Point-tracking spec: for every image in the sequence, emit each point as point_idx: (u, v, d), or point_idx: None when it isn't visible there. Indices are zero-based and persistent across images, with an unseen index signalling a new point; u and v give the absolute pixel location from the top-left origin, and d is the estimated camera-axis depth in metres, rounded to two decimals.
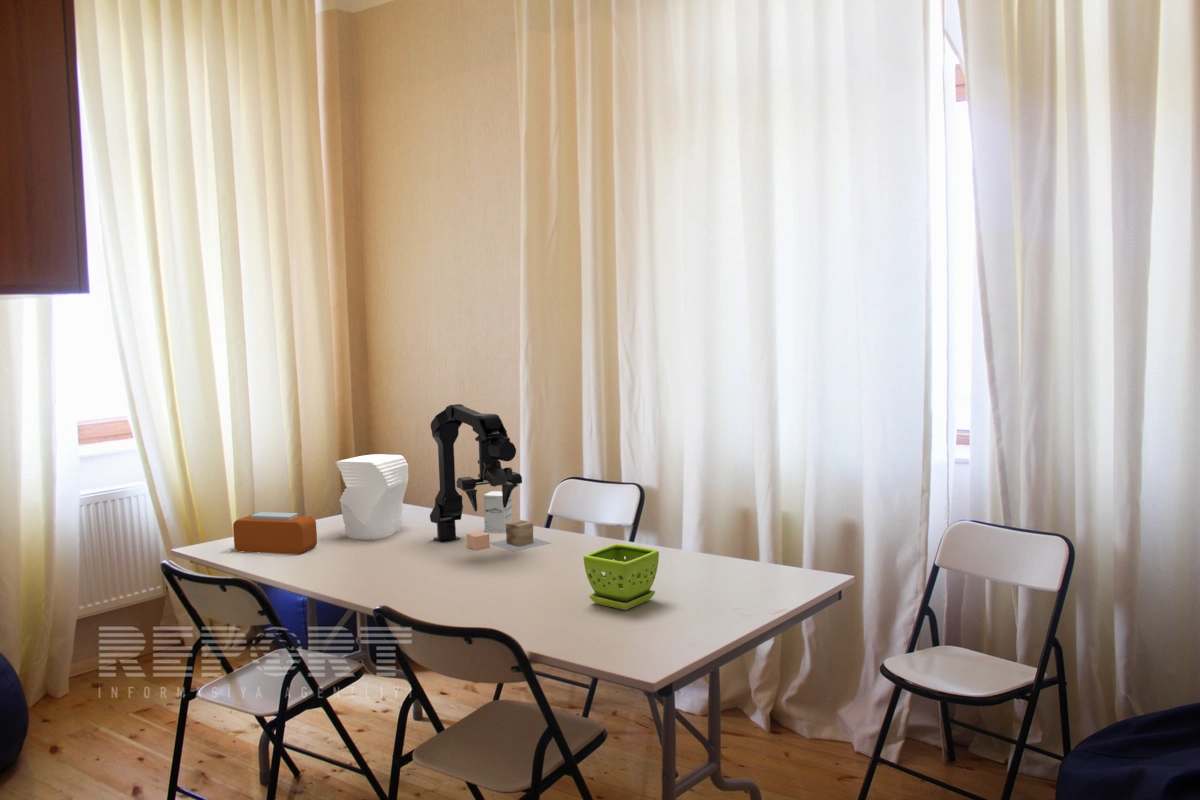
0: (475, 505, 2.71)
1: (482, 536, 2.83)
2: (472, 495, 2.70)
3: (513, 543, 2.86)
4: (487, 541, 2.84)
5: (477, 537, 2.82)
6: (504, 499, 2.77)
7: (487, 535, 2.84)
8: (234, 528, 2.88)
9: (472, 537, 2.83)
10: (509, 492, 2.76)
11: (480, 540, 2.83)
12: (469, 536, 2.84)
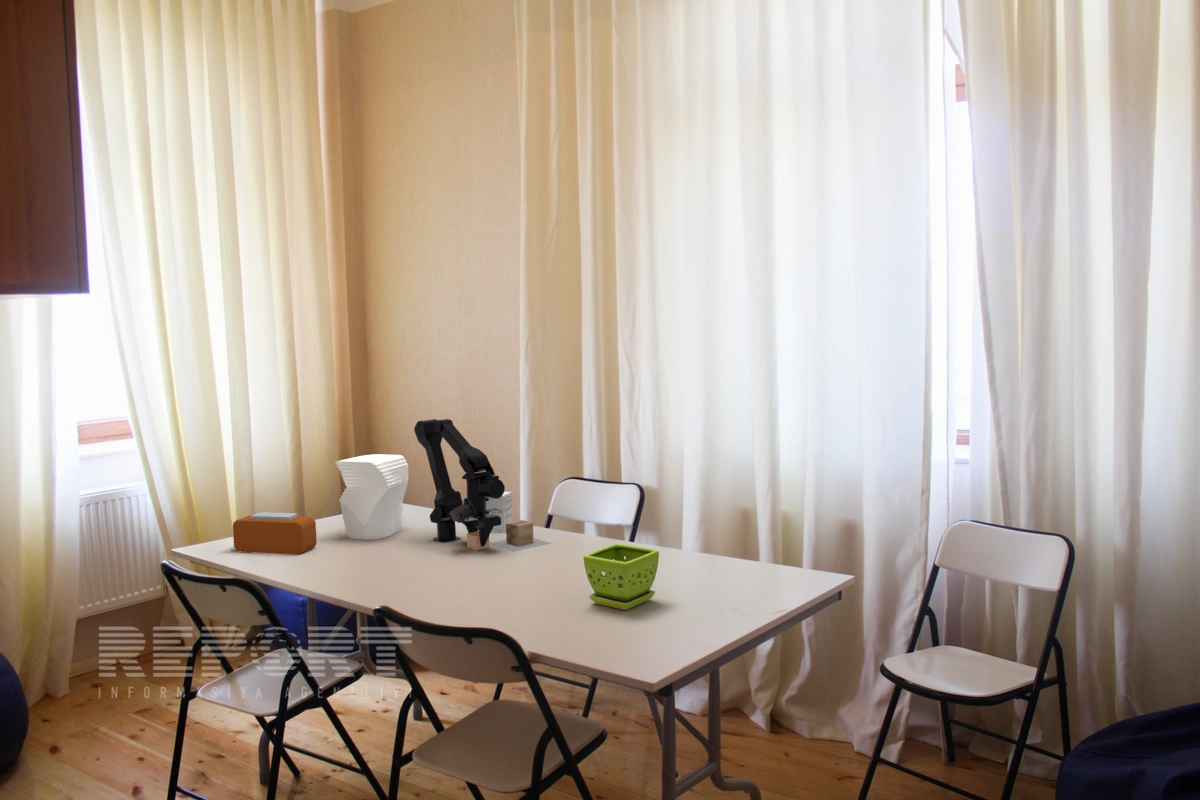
0: None
1: None
2: (466, 526, 2.87)
3: (513, 543, 2.86)
4: (487, 541, 2.84)
5: (477, 537, 2.82)
6: None
7: None
8: (234, 528, 2.87)
9: (472, 537, 2.83)
10: (480, 532, 2.81)
11: None
12: (469, 536, 2.84)
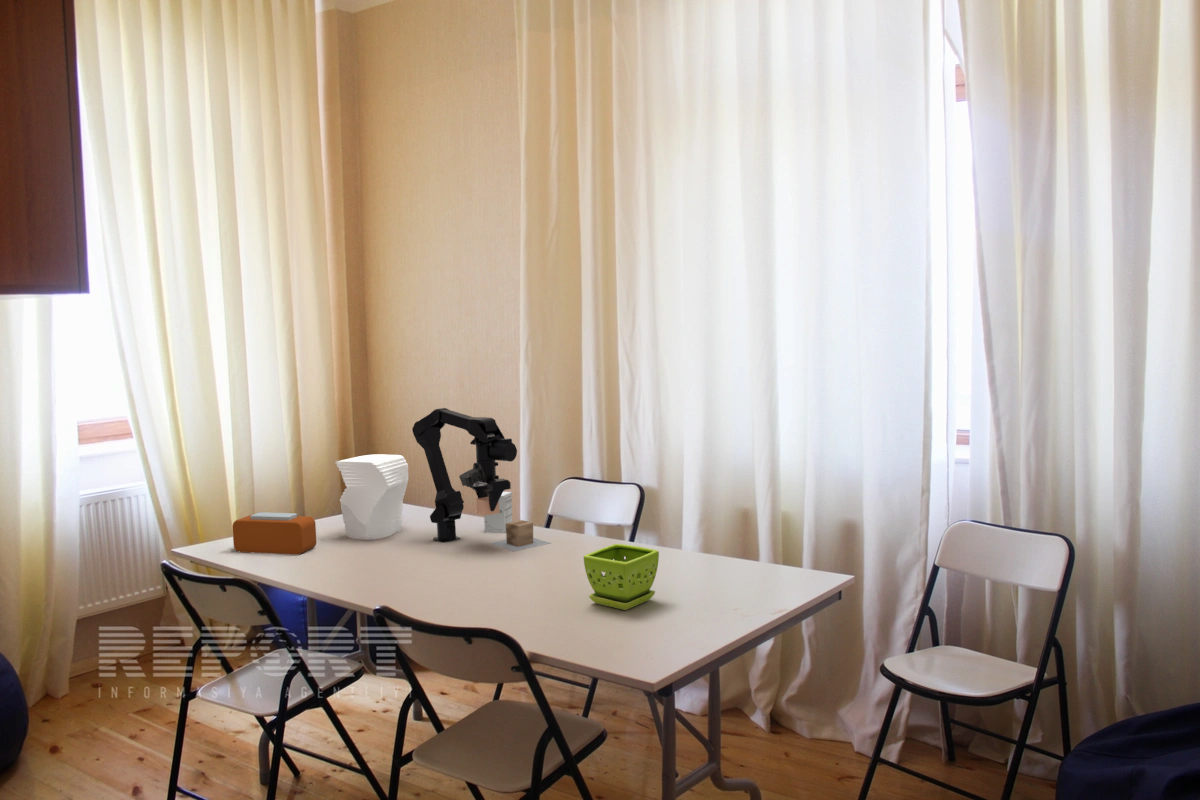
0: None
1: None
2: (476, 492, 2.87)
3: (513, 543, 2.86)
4: (497, 506, 2.84)
5: (486, 501, 2.82)
6: None
7: None
8: (233, 528, 2.87)
9: (481, 501, 2.82)
10: (489, 497, 2.81)
11: None
12: (479, 501, 2.84)
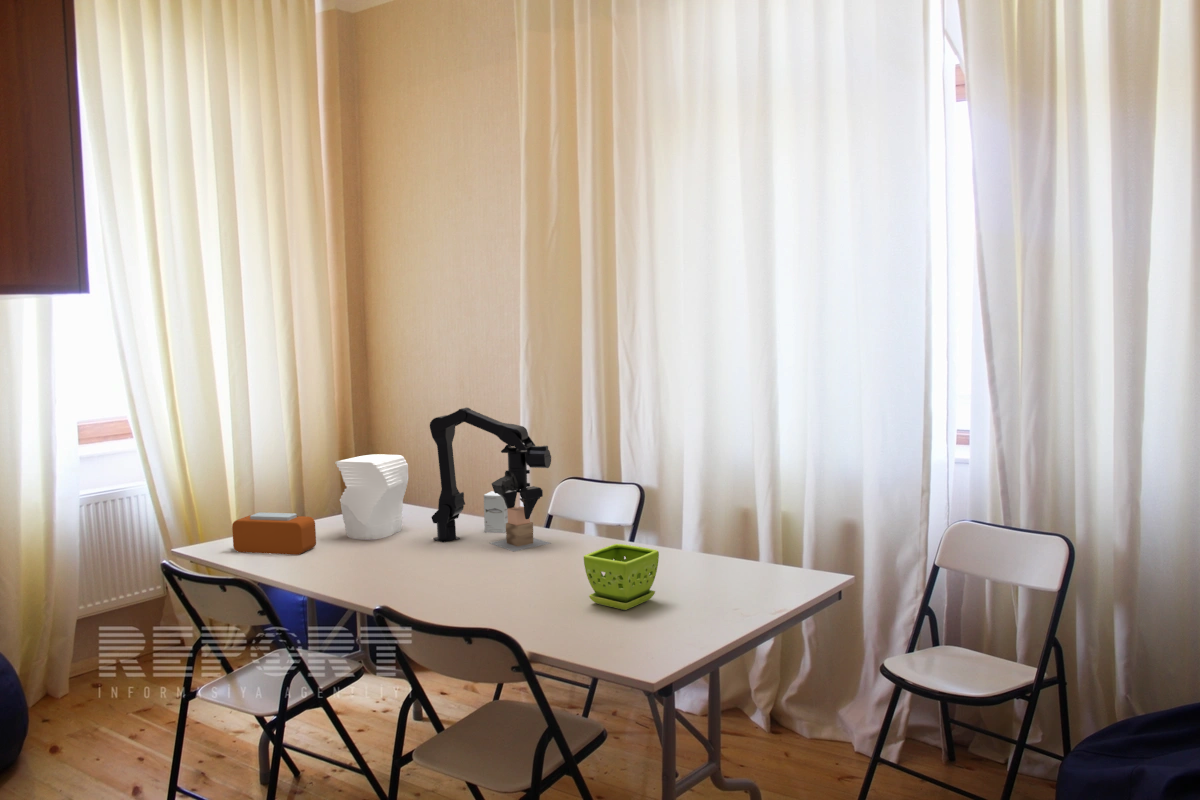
0: (507, 508, 2.91)
1: (523, 510, 2.86)
2: (503, 498, 2.91)
3: (513, 543, 2.86)
4: None
5: (518, 511, 2.85)
6: None
7: None
8: (233, 528, 2.87)
9: (513, 511, 2.86)
10: (524, 505, 2.83)
11: (521, 514, 2.86)
12: (510, 510, 2.87)
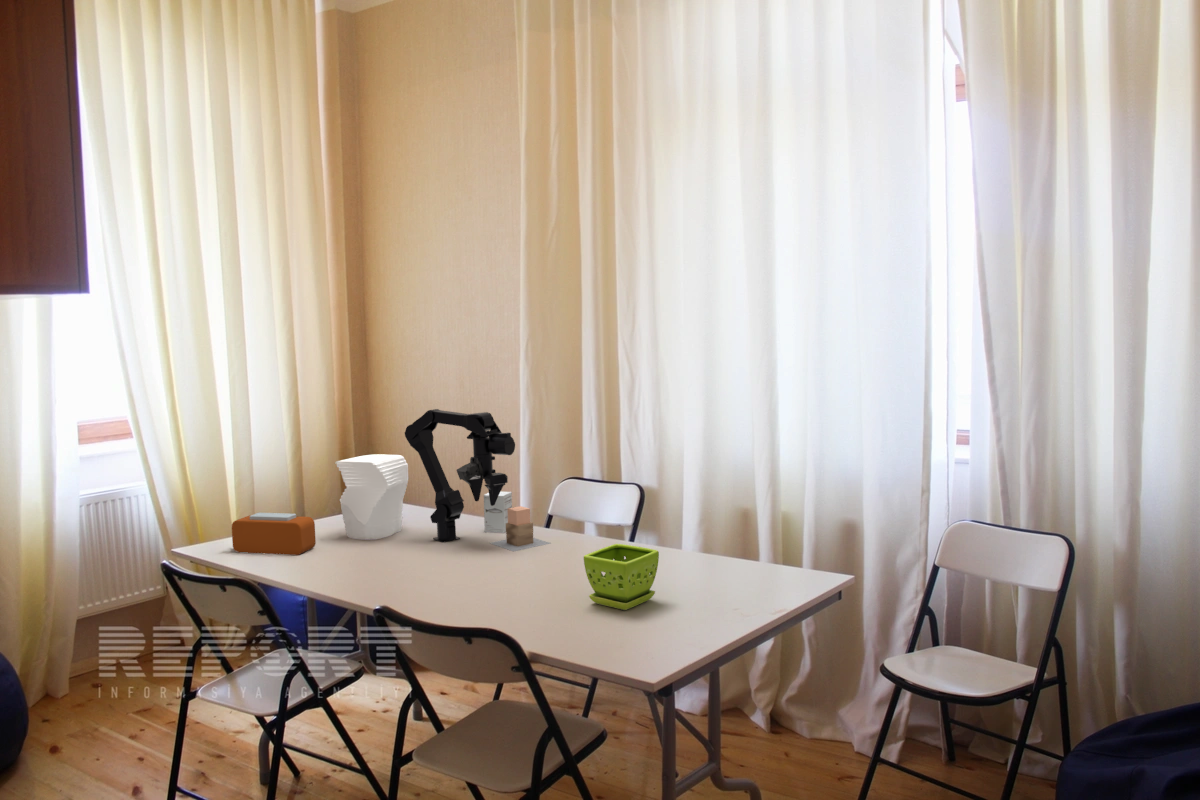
0: (473, 495, 2.91)
1: (523, 510, 2.86)
2: (469, 485, 2.91)
3: (513, 543, 2.86)
4: (528, 515, 2.87)
5: (518, 511, 2.85)
6: None
7: (528, 509, 2.87)
8: (232, 529, 2.87)
9: (513, 511, 2.86)
10: (490, 491, 2.83)
11: (521, 514, 2.86)
12: (510, 510, 2.87)
